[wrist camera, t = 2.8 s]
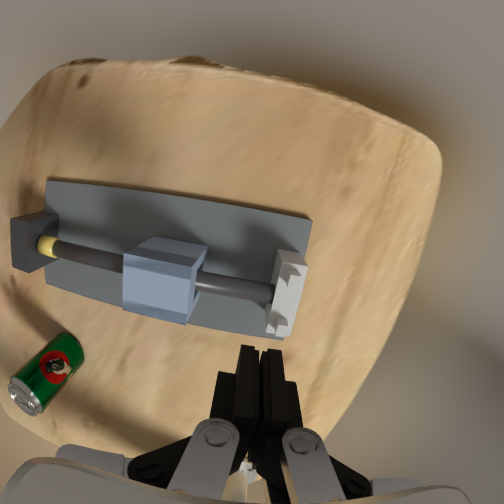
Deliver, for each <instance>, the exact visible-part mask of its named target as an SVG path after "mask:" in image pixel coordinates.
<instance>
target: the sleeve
mask: <svg viewBox="0 0 504 504" xmlns="http://www.w3.org/2000/svg"><path fill="white" fill-rule="evenodd" d="M207 251H208V246H205V245H199V244H194V243H189V242H183V241H178V240H172V239H167V238H161V237H156V236H154V237H152V238H150V239H149V240H147V241H145V242H143V243H141V244H139V245H138V246H136V247H134V248H132V249H130V250H129V251H127V252H125V253H124V259H123V310H126V311H129V312H133V313H137V314H141V315H145V316H149V317H153V318H157V319H161V320H165V321H169V322H173V323H178V324H182V325H186V323H187V321H188V319H189V317H190V315H191V313H192V311H193V309H194V307H195V305H196V303H197V301H198V299H199V297H200V295H201V293H202V291H197V290H195V283H196V275H197V270H200V271H205V264H206V257H207Z"/></svg>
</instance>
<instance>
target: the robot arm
mask: <svg viewBox="0 0 504 504" xmlns="http://www.w3.org/2000/svg"><path fill="white" fill-rule="evenodd" d="M247 451H248V456H247V458H245V457H246V454H247ZM257 473H258V474H259V475H260V476H261V477H262V485H263V490H264V495H265V500H266V504H472V503H471V501H470V499H469V498H468V496H467V495H466V494H465V493H464V492H463V491H462V490H461V489H459V488H457V487H453V486H448V485H426V486H424V484H423V483H422V482H421V481H420V480H418V479H416V478H372V479H371V480H368V479H366V478H365V477H364V476H363V475H361V474H359V473H357V472H356V471H354V470H352V469H351V468H349V467H347V466H346V465H344V464H342V463H341V462H339V461H338V460H336V459H334V458H333V457H331V456H330V455H328V453H327V451H326V448H325V446H324V443H323V441H322V439H321V437H320V436H319V435H318V434H317V433H316V432H315V431H313V430H311V429H308V428H304V427H303V422H302V416H301V410H300V403H299V397H298V391H297V385H296V383H295V382H293V381H285V375H284V366H283V358H282V351H281V350H275V349H268V350H267V352H265V351H263V352H262V355H261V359H260V363H259V350H255V347H254V346H249V345H241V349H240V353H239V358H238V363H237V368H236V373H235V374H232V373H227V372H221V371H218V376H217V381H216V386H215V391H214V396H213V401H212V407H211V412H210V417H209V419H206V420H203V421H202V422H200V423H199V424H198V425H197V427H196V428H195V430H194V432H193V435H192V436H189V437H187V438H185V439H182V440H180V441H177V442H175V443H172V444H170V445H167V446H165V447H162V448H159V449H157V450H154V451H151V452H148V453H146V454H143V455H140V456H137V457H135V458H127V457H124V455H122V454H116V453H110V452H105V451H100V450H95V449H91V448H86V447H82V446H78V445H73V444H67V445H63V446H62V447H60V448H59V449H58V451H57V453H56V456H55V458H53V457H36V458H32V459H30V460H28V461H26V462H25V463H24V464H22V465H21V466H20V467H19V468H18V469H17V471H16V472H15V473H14V474H13V475H12V477H11V478H10V480H9V481H8V482H7V484H6V486H5V487H4V489H3V490H2V492H1V494H0V504H257V503H247V485H248V484H250V483H252V482H253V481H254V480H255V479H256V478H257Z"/></svg>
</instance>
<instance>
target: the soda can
mask: <svg viewBox="0 0 504 504" xmlns="http://www.w3.org/2000/svg"><path fill="white" fill-rule="evenodd" d="M84 359H85V358H84V352H83V349H82V347H81V345H80V344H79V343H78V341H77V340H76V339H75V338H73V337H72V336H70V335H67V334H63V333H61V334H58V335H57V336H56V337H54V338H53V339H52V340H51V341H50V342H49V343H48V344H47V345H45V346H44V347H43V348H42V349H41V350H40V351H39V352H38V353H36V354H35V355H34V356H33V357H32V358H31V359H30V360H29V361H28V362H27V363H26V364H25V365H23V366H22V367H21V368H20V369H19V370H18V371H17V372H16V373H15V374H14V375H13V376H12V377H11V379H10V384H9V385H8V391H9V393H10V395H11V397H12V399H13V400H14V401H15V403H16V404H17V405H18V406H19V407H20V408H21V409H22V410H23V411H24V412H26V413H27V414H29V415H31V416H36V415H37V414H40V413H43V412H44V410H45V409H46V408H47V407H48V405H49V404H50V403H51V402H52V400H53V399H54V398H55V397H56V396H57V394H58V393H59V392H60V391H61V389H62V388H63V387H64V386H65V385H66V383H67V382H68V381H69V380H70V379H71V377H72V376H73V375H74V374H75V373H76V372H77V370H78V369H79V368H80V367H81V366H82V365H83V363H84Z"/></svg>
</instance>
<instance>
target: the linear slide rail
mask: <svg viewBox="0 0 504 504" xmlns="http://www.w3.org/2000/svg"><path fill="white" fill-rule="evenodd" d="M312 222H313V221H312V220H310V219H305V218H301V217H296V216H291V215H286V214H281V213H276V212H270V211H265V210H260V209H254V208H249V207H244V206H238V205H232V204H227V203H221V202H215V201H209V200H203V199H196V198H190V197H184V196H177V195H170V194H164V193H157V192H150V191H142V190H135V189H127V188H119V187H111V186H102V185H93V184H84V183H74V182H64V181H53V180H48V181H47V182H46V194H45V209H44V211H42V212H37V213H32V214H28V215H23V216H19V217H14V218H10V230H11V255H12V267H14V268H17V269H19V270H22V271H24V272H27V273H31V272H33V271H35V270H37V269H39V268H41V267H43V266H45V279H46V284H49V285H52V286H55V287H58V288H61V289H64V290H67V291H70V292H73V293H76V294H79V295H82V296H85V297H88V298H91V299H95V300H98V301H101V302H105V303H108V304H112V305H115V306H119V307H122V308H123V259H124V253H125V252H127V251H129V250H130V249H132V248H134V247H136V246H138V245H139V244H141V243H143V242H145V241H147V240H149V239H150V238H152V237H154V236H156V237H161V238H167V239H172V240H178V241H183V242H189V243H194V244H199V245H205V246H208V251H207V257H206V264H205V271H200V270H197V275H196V283H195V290H197V291H202V293H201V295H200V297H199V299H198V301H197V303H196V305H195V307H194V309H193V311H192V313H191V315H190V317H189V319H188V321H187V324H192V325H197V326H202V327H207V328H212V329H217V330H222V331H227V332H233V333H239V334H244V335H250V336H257V337H263V338H269V339H276V340H283V339H284V337H286V336H290V334H291V331H292V327H293V323H294V320H295V316H296V313H297V309H298V305H299V301H300V298H301V294H302V290H303V286H304V282H305V278H306V274H307V270H308V265H307V263H306V262H305V260H304V258H305V253H306V249H307V245H308V240H309V236H310V231H311V227H312Z"/></svg>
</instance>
